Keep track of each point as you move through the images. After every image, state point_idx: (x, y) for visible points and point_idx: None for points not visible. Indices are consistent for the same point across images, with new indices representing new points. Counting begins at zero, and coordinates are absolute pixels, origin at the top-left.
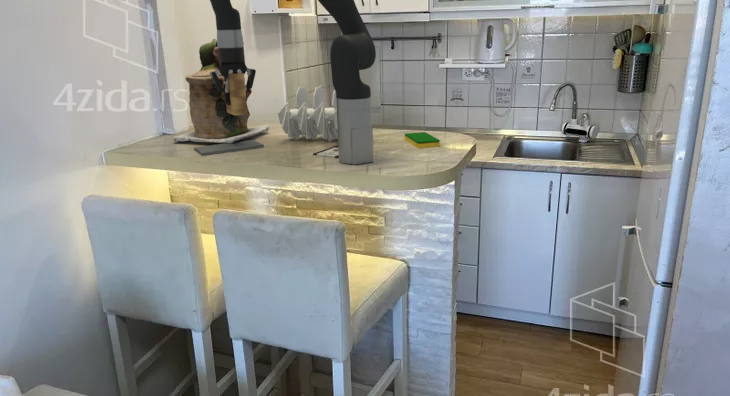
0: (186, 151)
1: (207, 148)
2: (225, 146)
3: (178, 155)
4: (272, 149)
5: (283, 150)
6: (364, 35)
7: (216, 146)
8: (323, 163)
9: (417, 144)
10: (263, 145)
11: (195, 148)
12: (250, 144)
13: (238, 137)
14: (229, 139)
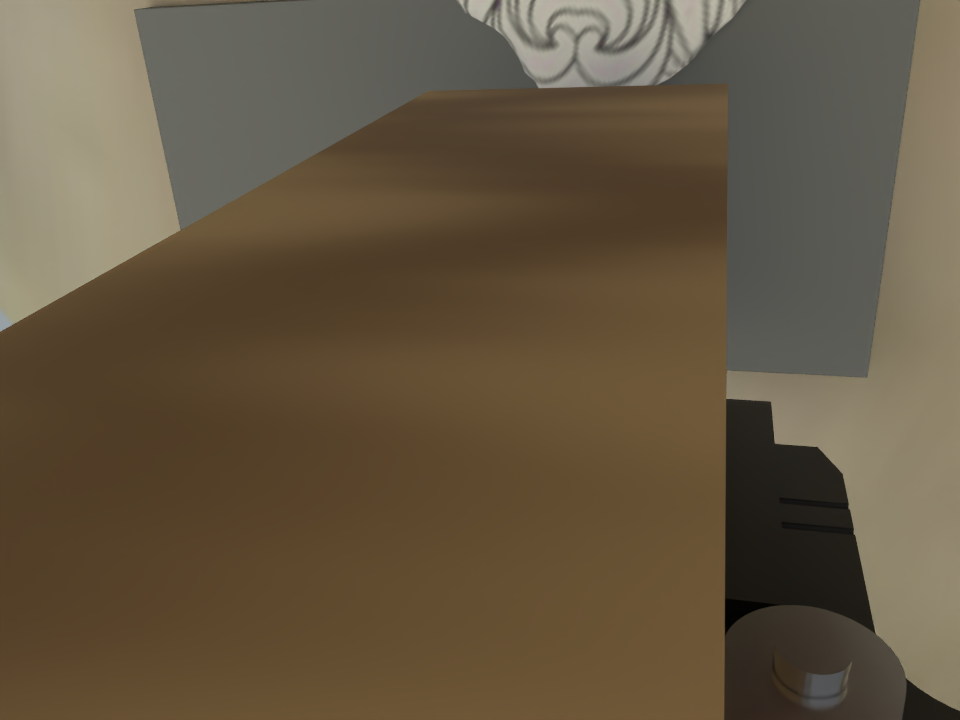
0: (77, 32)
1: (264, 170)
2: None
3: (21, 179)
4: (889, 504)
5: (957, 607)
6: None
7: (365, 121)
8: None
9: None
10: (864, 373)
11: (149, 77)
12: (743, 264)
13: (665, 45)
14: (540, 21)
